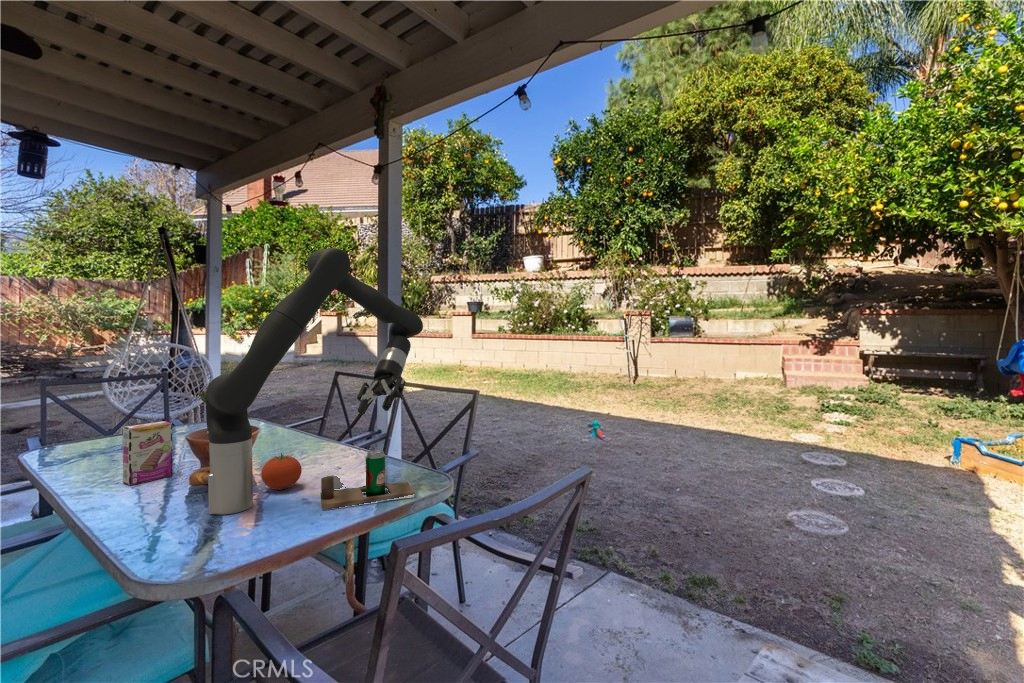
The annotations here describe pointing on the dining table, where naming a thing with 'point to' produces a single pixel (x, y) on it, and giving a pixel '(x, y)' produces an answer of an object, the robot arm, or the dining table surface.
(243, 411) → the robot arm
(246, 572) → the dining table surface
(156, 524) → the dining table surface
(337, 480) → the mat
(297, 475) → the tomato
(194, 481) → the pretzel
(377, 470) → the soda can
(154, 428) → the candy bar box
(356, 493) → the plane body
